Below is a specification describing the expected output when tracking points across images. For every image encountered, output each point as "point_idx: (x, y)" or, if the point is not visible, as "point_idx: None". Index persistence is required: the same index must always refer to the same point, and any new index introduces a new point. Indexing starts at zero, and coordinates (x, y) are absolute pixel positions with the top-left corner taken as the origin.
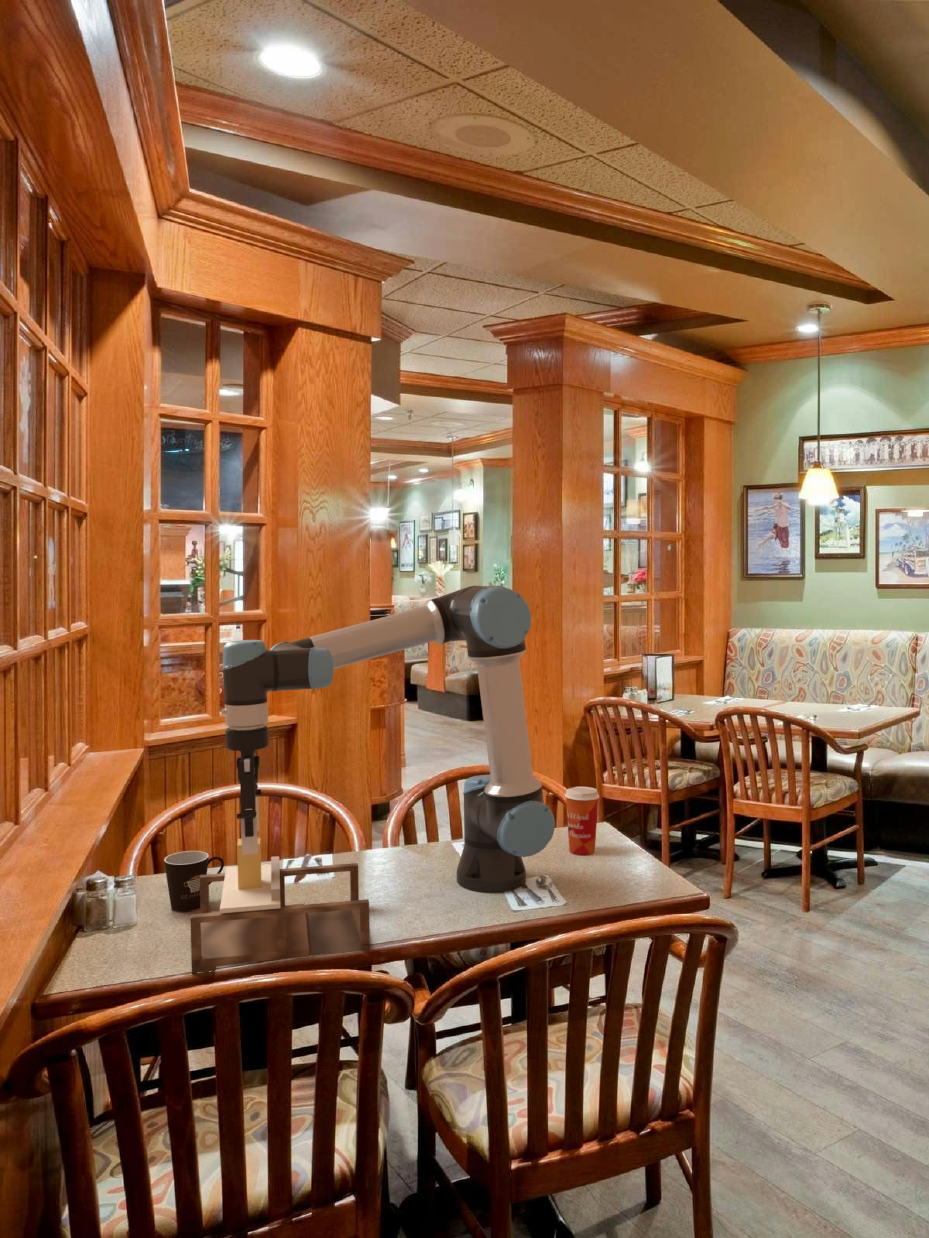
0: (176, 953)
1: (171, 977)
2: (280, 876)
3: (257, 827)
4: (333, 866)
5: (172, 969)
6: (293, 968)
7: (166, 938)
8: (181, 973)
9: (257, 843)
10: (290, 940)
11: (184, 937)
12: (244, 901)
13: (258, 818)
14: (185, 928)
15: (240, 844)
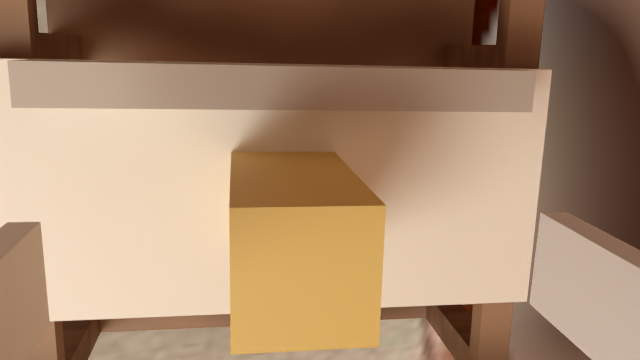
0: (292, 354)
1: (439, 344)
2: (40, 53)
3: (30, 242)
4: None
5: (392, 349)
6: (483, 28)
7: None
8: (423, 324)
9: (604, 234)
10: (393, 30)
11: (179, 350)
12: (480, 215)
13: (2, 260)
14: (105, 356)
15: (361, 328)
